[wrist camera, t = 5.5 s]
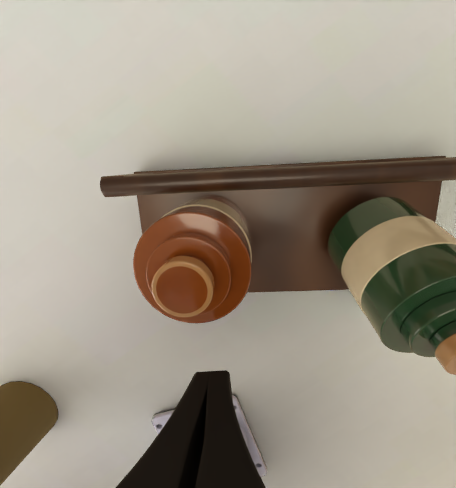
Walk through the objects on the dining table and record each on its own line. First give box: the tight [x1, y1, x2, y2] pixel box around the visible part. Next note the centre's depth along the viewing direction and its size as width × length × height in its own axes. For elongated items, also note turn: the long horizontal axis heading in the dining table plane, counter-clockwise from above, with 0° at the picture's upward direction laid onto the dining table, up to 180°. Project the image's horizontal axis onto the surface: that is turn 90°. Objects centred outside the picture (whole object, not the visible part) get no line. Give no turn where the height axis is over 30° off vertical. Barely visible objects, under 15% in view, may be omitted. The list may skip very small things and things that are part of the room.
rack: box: [100, 156, 456, 292], centre depth 17 cm, size 20×9×6 cm, turn 93°
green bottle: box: [328, 197, 456, 375], centre depth 14 cm, size 6×6×8 cm
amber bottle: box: [133, 195, 252, 323], centre depth 15 cm, size 6×6×8 cm
